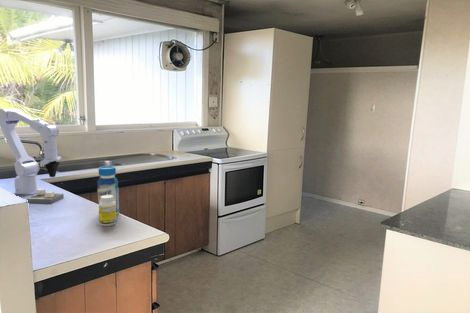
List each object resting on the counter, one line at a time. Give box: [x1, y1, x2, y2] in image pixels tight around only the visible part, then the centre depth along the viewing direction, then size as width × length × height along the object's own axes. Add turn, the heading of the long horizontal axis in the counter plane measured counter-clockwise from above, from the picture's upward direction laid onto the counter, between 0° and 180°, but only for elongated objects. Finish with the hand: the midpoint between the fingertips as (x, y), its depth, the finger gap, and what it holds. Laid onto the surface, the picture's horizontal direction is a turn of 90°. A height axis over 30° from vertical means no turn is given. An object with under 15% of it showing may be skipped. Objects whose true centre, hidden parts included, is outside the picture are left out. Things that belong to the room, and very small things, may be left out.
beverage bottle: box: [96, 165, 120, 215], centre depth 150 cm, size 8×8×20 cm
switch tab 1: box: [35, 188, 46, 195], centre depth 172 cm, size 3×2×2 cm
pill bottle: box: [98, 195, 118, 227], centre depth 138 cm, size 6×6×11 cm
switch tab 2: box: [45, 190, 55, 197], centre depth 168 cm, size 3×2×2 cm
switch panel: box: [26, 192, 65, 204], centre depth 170 cm, size 12×10×2 cm
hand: (52, 176), depth 178 cm, fingers closed
